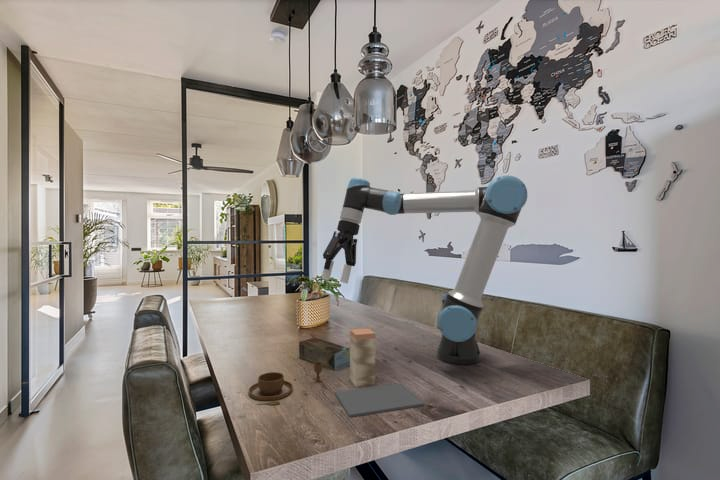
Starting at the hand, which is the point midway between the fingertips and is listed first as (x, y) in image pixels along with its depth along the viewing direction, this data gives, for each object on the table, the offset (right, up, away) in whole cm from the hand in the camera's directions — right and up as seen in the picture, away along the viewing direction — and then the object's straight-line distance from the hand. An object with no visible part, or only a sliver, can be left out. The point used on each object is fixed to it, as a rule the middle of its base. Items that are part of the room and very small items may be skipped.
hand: (334, 281), depth 126 cm
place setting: (-12, -29, -24) cm, 39 cm away
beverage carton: (-4, -29, +1) cm, 29 cm away
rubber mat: (+13, -28, -29) cm, 43 cm away
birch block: (+9, -28, -17) cm, 34 cm away
